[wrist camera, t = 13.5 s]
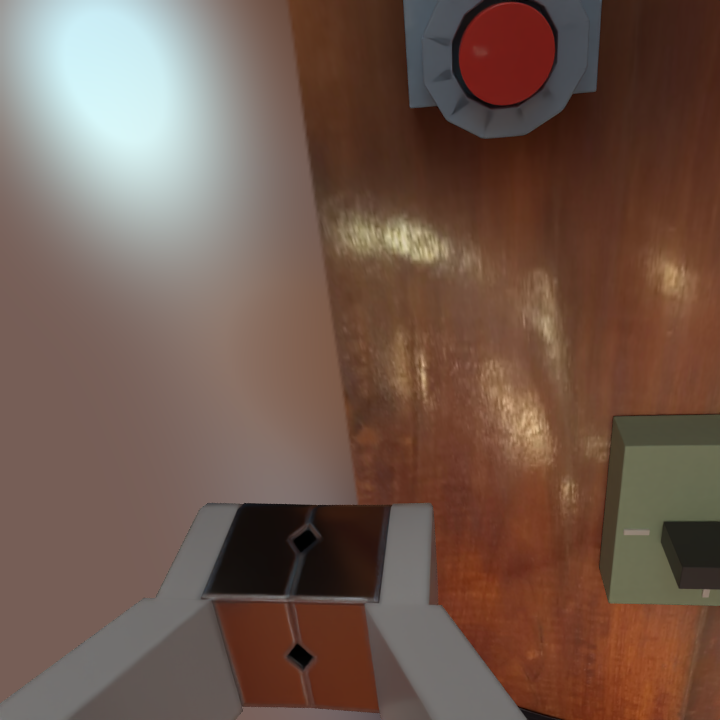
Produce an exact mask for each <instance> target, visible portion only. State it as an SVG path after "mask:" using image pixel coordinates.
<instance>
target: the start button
mask: <svg viewBox="0 0 720 720" xmlns="http://www.w3.org/2000/svg"><path fill="white" fill-rule="evenodd" d="M554 58H555V40H554V35H553V32H552V29H551V27H550V25H549V23H548V22H547V20H546V19H545V17H544V16H543V15H542V14H541V13H540V12H539V11H537V10H536V9H534V8H533V7H531V6H529V5H526V4H523V3H519V2H501V3H497V4H494V5H491V6H489V7H487V8H485V9H484V10H482V11H481V12H479V13H478V14H477V15H476V16H475V17H474V18H473V19H472V20H471V21H470V23H469V24H468V26H467V27H466V29H465V31H464V33H463V35H462V38H461V41H460V46H459V66H460V71H461V75H462V78H463V80H464V82H465V84H466V86H467V87H468V88H469V90H470V91H471V92H472V93H473V94H474V95H475V96H476V97H478V98H479V99H481V100H482V101H484V102H487V103H489V104H493V105H500V106H501V105H512V104H516V103H519V102H521V101H523V100H525V99H527V98H529V97H530V96H532V95H533V94H534V93H535V92H536V91H537V90H538V89H540V87H541V86H542V85H543V84H544V82H545V81H546V79H547V78H548V76H549V74H550V72H551V69H552V66H553V62H554Z"/></svg>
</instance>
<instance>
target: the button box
mask: <svg viewBox="0 0 720 720" xmlns="http://www.w3.org/2000/svg"><path fill="white" fill-rule="evenodd" d="M501 2H519V3H523V4H526V5H529V6H531V7H533V8H534V9H536V10H537V11H539V12H540V13H541V14H542V15H543V16H544V17H545V19H546V20H547V22H548V23H549V25H550V27H551V29H552V32H553V35H554V40H555V58H554V62H553V66H552V69H551V72H550V74H549V76H548V78H547V79H546V81H545V82H544V84H543V85H542V86H541V87H540V89H538V90H537V91H536V92H535V93H534V94H533V95H532V96H530V97H529V98H527V99H525V100H523V101H521V102H519V103H516V104H512V105H501V106H500V105H493V104H489V103H487V102H484V101H482V100H481V99H479V98H478V97H476V96H475V95H474V94H473V93H472V92H471V91H470V90H469V88H468V87H467V86H466V84H465V82H464V80H463V78H462V75H461V71H460V66H459V46H460V41H461V38H462V35H463V33H464V31H465V29H466V27H467V26H468V24H469V23H470V21H471V20H472V19H473V18H474V17H475V16H476V15H477V14H478V13H479V12H481V11H482V10H484V9H485V8H487V7H489V6H491V5H494V4H497V3H501ZM403 7H404V23H405V39H406V56H407V72H408V88H409V105H410V108H420V107H431V106H438V108H439V110H440V111H441V113H442V114H443V116H444V118H445V119H446V120H447V121H448V122H450V123H452V124H454V125H456V126H458V127H460V128H462V129H464V130H466V131H468V132H470V133H472V134H474V135H476V136H478V137H480V138H484V139H488V138H501V137H513V136H524V135H527V134H528V133H530V132H531V131H533V130H534V129H536V128H537V127H539V126H540V125H542V124H543V123H545V122H546V121H548V120H549V119H551V118H552V117H554V116H555V115H557V114H558V113H560V112H561V111H562V110H563V109H564V108H565V106H566V104H567V103H568V101H569V99H570V97H571V96H572V94H576V93H587V92H595V91H596V87H597V72H598V56H599V40H600V24H601V8H602V0H403Z"/></svg>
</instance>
